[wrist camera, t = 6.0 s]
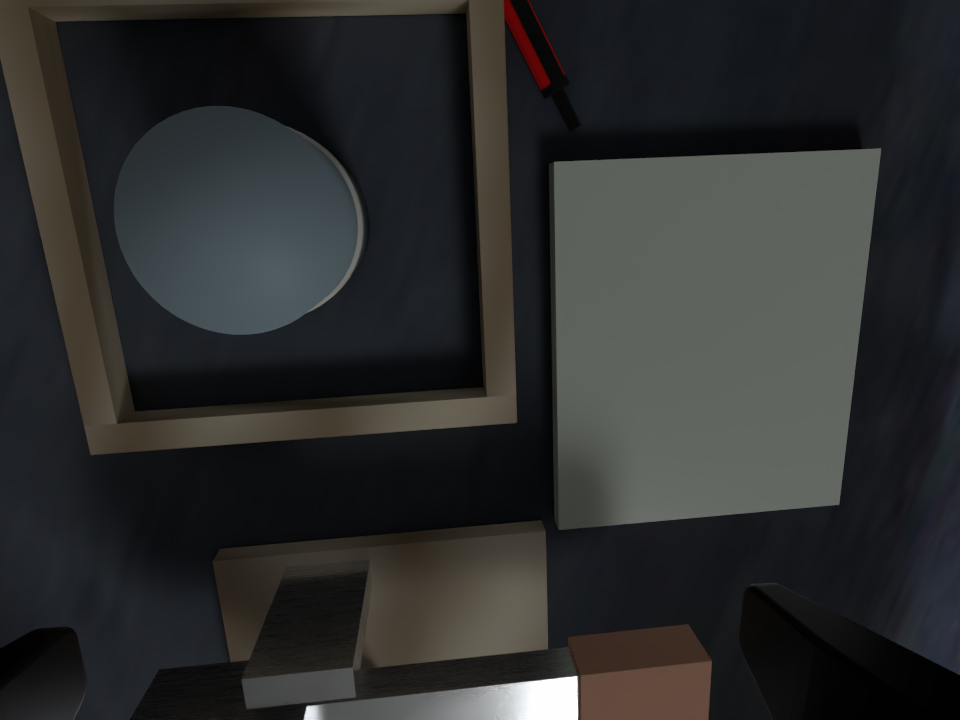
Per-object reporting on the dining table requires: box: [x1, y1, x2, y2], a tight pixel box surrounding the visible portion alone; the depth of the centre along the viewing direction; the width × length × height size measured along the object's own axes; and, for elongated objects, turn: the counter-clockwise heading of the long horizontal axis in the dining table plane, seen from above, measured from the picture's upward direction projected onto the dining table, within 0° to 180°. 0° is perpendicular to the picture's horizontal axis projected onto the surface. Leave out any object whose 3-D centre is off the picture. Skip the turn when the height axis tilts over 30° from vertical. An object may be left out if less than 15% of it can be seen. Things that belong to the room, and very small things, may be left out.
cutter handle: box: [130, 625, 712, 720], centre depth 18 cm, size 17×3×3 cm, turn 93°
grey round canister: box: [114, 106, 370, 335], centre depth 16 cm, size 5×5×6 cm
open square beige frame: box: [0, 0, 517, 455], centre depth 18 cm, size 14×14×1 cm
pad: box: [549, 149, 881, 530], centre depth 21 cm, size 11×13×1 cm
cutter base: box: [212, 520, 548, 709], centre depth 20 cm, size 12×7×6 cm, turn 93°
